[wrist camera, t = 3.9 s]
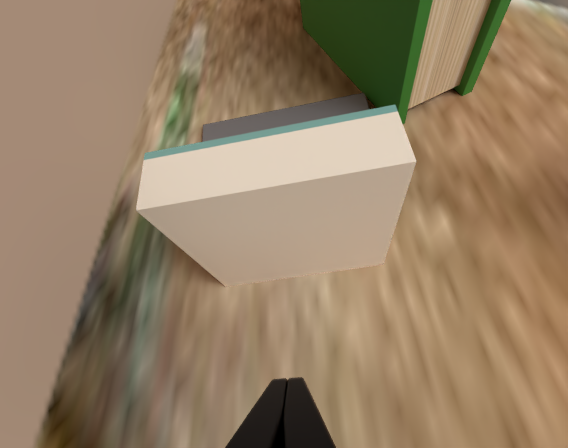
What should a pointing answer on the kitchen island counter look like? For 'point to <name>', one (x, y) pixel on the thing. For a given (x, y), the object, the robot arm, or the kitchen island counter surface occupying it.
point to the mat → (285, 117)
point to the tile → (283, 196)
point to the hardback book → (406, 44)
